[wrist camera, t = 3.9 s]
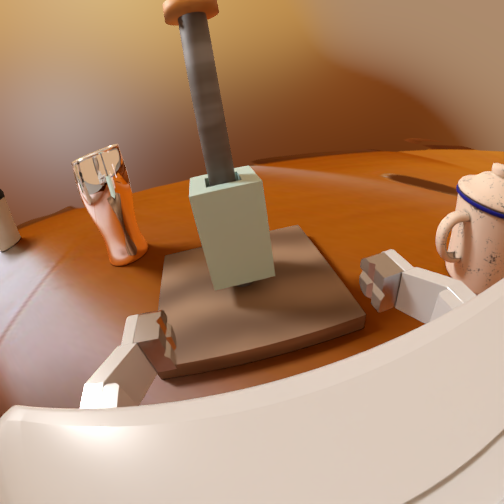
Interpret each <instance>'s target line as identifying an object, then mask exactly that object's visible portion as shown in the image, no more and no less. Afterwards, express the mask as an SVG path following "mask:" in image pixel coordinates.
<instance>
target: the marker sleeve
mask: <svg viewBox="0 0 504 504" xmlns="http://www.w3.org/2000/svg"><path fill="white" fill-rule="evenodd" d="M234 172H235V177H236V181H233V182H229V183H224V184H220V185H215V186H211V187H210V184H209V179H208V174H206V175H202V176H197V177H193V178H190V188H189V199H190V203H191V207H192V210H193V214H194V218H195V222H196V226H197V229H198V233H199V237H200V240H201V244H202V248H203V251H204V255H205V258H206V262H207V265H208V269H209V272H210V276H211V279H212V282H213V286H214V289H215V290H219V289H224V288H228V287H232V286H236V285H240V284H245V283H249V282H253V281H257V280H261V279H265V278H269V277H273V276H275V270H274V262H273V254H272V247H271V240H270V232H269V225H268V218H267V211H266V204H265V197H264V190H263V183H262V180H261V179H260V178H259V177H258V175H257V174H256V173H255V172H254V171H253V170H252V169H251V167H250V166H243V167H238V168H234Z"/></svg>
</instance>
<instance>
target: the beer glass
mask: <svg viewBox="0 0 504 504" xmlns="http://www.w3.org/2000/svg"><path fill="white" fill-rule="evenodd" d="M72 167H73V171H74V176H75V180H76V184H77V187H78V191H79V194H80V197H81V199H82V202H83V204H84V206H85V208H86V210H87V212H88V214H89V215H90V217H91V219H92V220H93V222H94V224H95V225H96V227H97V229H98V230H99V232H100V234H101V236H102V238H103V240H104V242H105V245H106V249H107V253H108V257H109V261H110V263H111V264H112V265H114V266H123V265H127V264H130V263H132V262H134V261H136V260H138V259H139V258H141V257H142V256H143V255H144V254H145V253H146V252H147V250H148V244H147V242H146V240H145V239H144V237H143V235H142V234H141V232H140V230H139V227H138V225H137V221H136V217H135V211H134V204H133V197H132V191H131V185H130V181H129V177H128V173H127V170H126V167H125V164H124V160H123V158H122V155H121V152H120V150H119V146H118V144H115V145H112V146H108V147H105V148H103V149H100V150H97V151H95V152H92V153H90V154H88V155H85V156H83V157H81V158H79V159H77V160H75V161H73V162H72Z"/></svg>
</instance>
